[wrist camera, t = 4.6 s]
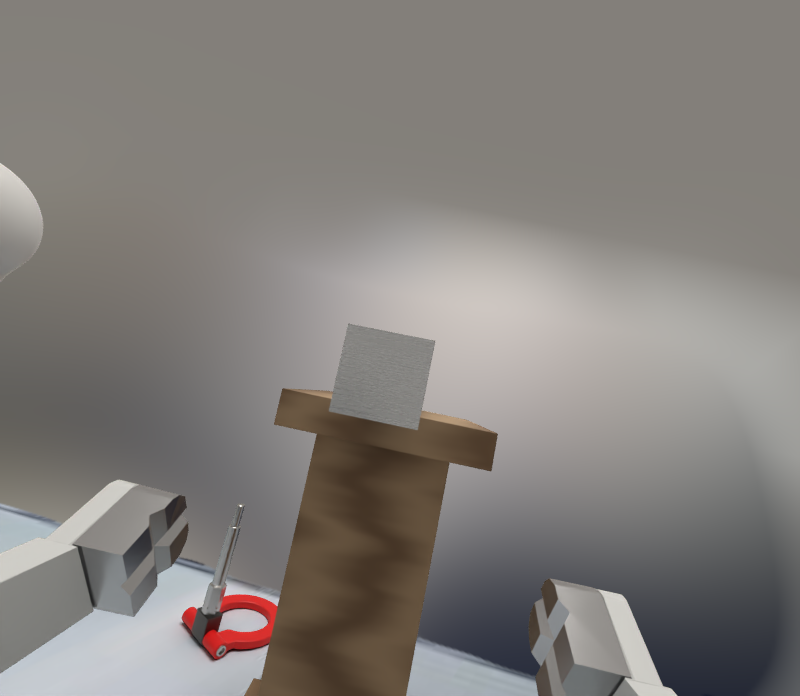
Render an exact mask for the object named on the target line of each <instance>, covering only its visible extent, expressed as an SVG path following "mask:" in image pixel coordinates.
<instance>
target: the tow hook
mask: <svg viewBox="0 0 800 696" xmlns="http://www.w3.org/2000/svg"><path fill="white" fill-rule="evenodd" d="M244 507H245V505H244V504H237V507H236V511H235V514H234V517H233V521H232V524H230V525H229V527H228V530H227V534H226V537H225V541H224V544H223V547H222V551H221V554H220V558H219V561H218V565H217V568H216V571H215V575H214V578H213V581H212V582H211V583H210V584H209V586H208V590H207V593H206V596H205V600H204V604H203V607H201V608H198V609H196V608H195V607H190V608H188V609H187V610H186V611H185V612H184V614H183V616H182V620H183V622H184V623H185V624H186V625H187V626H188V628H189V629H190V630H191V632H192V634H193V636H194V637H195V638H196V639H197V640H198V642H199V643H200V644H201V645H202V646H204V647H205V648H206V649H207V650H208V651H209V653H210V654H211V655H212V656H213V657H214V659H220V658H221V657H223V656H224V655H225V653H226V652H227V651H228V650H230V649H233V648H234V649H252V648H257V647H261V646H264V645H266V644H268V643H270V639H271V634H272V630H273V625H274V621H275V617H276V612H277V608H278V607H277V606H276V605H275V604H273V603H272V602H270V601H268V600H266V599H263V598H260V597H257V596H251V595H229V596H225V597H224V593H225V590H226V586H227V585H226V583H225V581H226V577H227V574H228V571H229V567H230V564H231V560H232V556H233V553H234V549H235V546H236V543H237V539H238V535H239V532H240V529H241V526H240V525H239V524H240V521H241V518H242V514H243V511H244ZM233 608H247V609H252V610H255V611H258V612H260V613H262V614H263V615H264V616H265V617H266V618H267V620H268V624H267V626H265V627H264V628H263V629H260V630H258V631H253V632H237V631H233V630H224V631H221V632H218V629H219V626H220V622H221V619H222V614H221V613H222V612H223V611H226V610H229V609H233Z"/></svg>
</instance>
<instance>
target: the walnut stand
mask: <svg viewBox="0 0 800 696" xmlns="http://www.w3.org/2000/svg"><path fill="white" fill-rule="evenodd" d="M332 394H333V392H330V391H320V390H301V389H284V388H283V389H282V393H281V397H280V401H279V405H278V409H277V414H276V418H275V422H274V424H275V425H279V426H284V427H288V428H293V429H298V430H302V431H307V432H311V433H316V434H317V436H316V440H315V444H314V449H313V453H312V458H311V462H310V466H309V471H308V476H307V480H306V484H305V489H304V493H303V497H302V502H301V506H300V511H299V515H298V519H297V524H296V528H295V533H294V537H293V541H292V546H291V550H290V555H289V559H288V564H287V568H286V572H285V577H284V582H283V586H282V590H281V594H280V599H279V603H278V608H277V612H276V617H275V621H274V625H273V630H272V634H271V639H270V643H269V647H268V652H267V656H266V661H265V665H264V669H263V674H262V678H261V680H259V679H255V678H254V679H253V681H252V683H251V684H250V686H249V688H248V690H247V692H246V693H245V695H244V696H406V693H407V687H408V682H409V677H410V671H411V666H412V661H413V655H414V650H415V644H416V639H417V634H418V628H419V622H420V618H421V612H422V607H423V602H424V595H425V591H426V585H427V580H428V575H429V569H430V564H431V558H432V553H433V548H434V543H435V537H436V532H437V527H438V520H439V516H440V510H441V505H442V500H443V494H444V489H445V484H446V478H447V473H448V468H449V462H450V463H455V464H460V465H464V466H469V467H474V468H478V469H483V470H487V471H491V470H492V464H493V458H494V452H495V447H496V441H497V435H498V434H497V433H495V432H492V431H490V430H488V429H486V428H484V427H481V426H479V425H477V424H475V423H472V422H470V421H468V420H465V419H459V418H455V417H450V416H446V415H441V414H436V413H431V412H426V411H421V416H420V421H419V426H418V430H414V429H410V428H405V427H400V426H395V425H391V424H386V423H381V422H377V421H372V420H367V419H362V418H358V417H353V416H348V415H344V414H339V413H334V412H330V411H329V407H330V403H331V398H332Z"/></svg>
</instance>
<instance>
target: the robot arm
mask: <svg viewBox="0 0 800 696" xmlns="http://www.w3.org/2000/svg"><path fill="white" fill-rule="evenodd" d="M42 234H43V219H42V215H41V211H40V208H39V206H38V204H37V201H36V200H35V198H34V196H33V194H32V193H31V191H30V190H29V189H28V187H27V186H26V185H25V184H24V183H23V182H22V180H21V179H19V178H18V177H17V176H16V175H15V174H14V173H13V172H12V171H10V170H9V169H8V168H6V167H5V166H4V165H2V164H1V163H0V282H1V281H2V280H3V278H5V277H6V276H7V275H8V274H9V273H10V272H12V271H13V270H15V269H16V268H18V267H20V266H21V265H23V264H24V263H25V262H27V261H28V260H29V259H30V258H31V257H32V256H33V254H34V253H35V252H36V250H37V248H38V247H39V245H40V241H41V239H42ZM186 508H187V506H186V499H185V496H181V495H178V494H174V493H170V492H166V491H162V490H158V489H155V488H150V487H147V486H143V485H139V484H134V483H130V482H126V481H122V480H117V481H114V482H112V483H110V484H108V485H107V486H106V487H105V488H104V489H103V490H101V491H100V492H99V493H98V494H97V495H96V496H94V497H93V498H92V499H91V500H90V501H89V502H87V503H86V504H85V505H84V506H83V507H82V508H81V509H79V510H78V511H77V512H76V513H75V514H74V515H72V516H71V517H70V518H69V519H68V520H67V521H66V522H64V523H63V524H62V525H61V526H60V527H59V528H57V529H56V530H55V531H54V532H53V533H52V534H50V535H49V536H48V537H47V538H46V539H44V538H39V537H38V538H36V539H33V540H31V541H29V542H26V543H24V544H21V545H19V546H17V547H14V548H12V549H9V550H7V551H5V552H2V553H0V673H2V672H3V671H5V670H6V669H8V668H9V667H11V666H12V665H14V664H15V663H17V662H18V661H20V660H21V659H23V658H24V657H26V656H27V655H29V654H30V653H32V652H33V651H35V650H36V649H38V648H39V647H41V646H42V645H44V644H45V643H47V642H48V641H50V640H51V639H53V638H54V637H56V636H57V635H59V634H60V633H62V632H63V631H65V630H66V629H68V628H69V627H71V626H72V625H74V624H75V623H77V622H78V621H80V620H81V619H83V618H84V617H85V616H87V615H88V614H90V613H91V612H93V608H94V609H99V610H103V611H108V612H113V613H117V614H122V615H127V616H132V617H134V616H135V615H136V614H137V612H138V611H139V610H140V608H141V607H142V606H143V604H144V603H145V601H146V600H147V599H148V597H149V596H150V595H151V593H152V592H153V591H154V589H155V588H156V587H157V574H159V573H161V572H163V571H164V570H166V569H168V568H170V567H171V566H172V565H173V564H174V562H175V561H176V559H177V558H178V557H179V555H180V553H181V551H182V549H183V547H184V545H185V542H186V540H187V535H188V522H187V520H186V519H185V518H184V516H183V515H182V513H183V512H184V510H185V509H186ZM541 591H542V596H543V599H541V600H539V601H537V602H535V603H534V606H533V608H532V611H531V613H530V621H529V640H530V647H531V653H532V654H533V656H534V657H535V658H536V660H537V661H538V663H539V664H540V666H541V667H540V670H539V671H538V673H537V675H536V677H535V678H536V684H537V690H538V695H539V696H677V695H676V694H675V693H674V691H673V690H672V689H670V688H667V687H663V685H662V683H661V681H660V678H659V676H658V674H657V671H656V669H655V667H654V664H653V662H652V659H651V657H650V655H649V652H648V650H647V647H646V645H645V643H644V640H643V638H642V636H641V633H640V631H639V629H638V626H637V624H636V621H635V619H634V617H633V614H632V612H631V610H630V607H629V605H628V603H627V601H626V599H625V598H624V597H623V596H622V595H619V594H616V593H611V592H606V591H603V590H598V589H594V588H592V587H587V586H582V585H577V584H572V583H568V582H563V581H559V580H554V579H548V580H546V581H545V582H544V584H543V586H542V588H541Z"/></svg>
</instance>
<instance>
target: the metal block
mask: <svg viewBox="0 0 800 696" xmlns="http://www.w3.org/2000/svg"><path fill="white" fill-rule="evenodd" d="M434 345H435V341H433V340H428V339H423V338H418V337H413V336H408V335H403V334H398V333H392V332H388V331H382V330H377V329H373V328H367V327H362V326H357V325H352V324H348V327H347V332H346V336H345V341H344V345H343V350H342V354H341V358H340V363H339V367H338V372H337V376H336V381H335V385H334V390H333V394H332V398H331V403H330V407H329V411H330V412H334V413H339V414H344V415H348V416H353V417H358V418H362V419H367V420H372V421H377V422H381V423H386V424H391V425H395V426H400V427H405V428H410V429H414V430H418V426H419V421H420V416H421V411H422V405H423V401H424V396H425V391H426V385H427V380H428V375H429V369H430V365H431V360H432V355H433V350H434Z"/></svg>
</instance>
